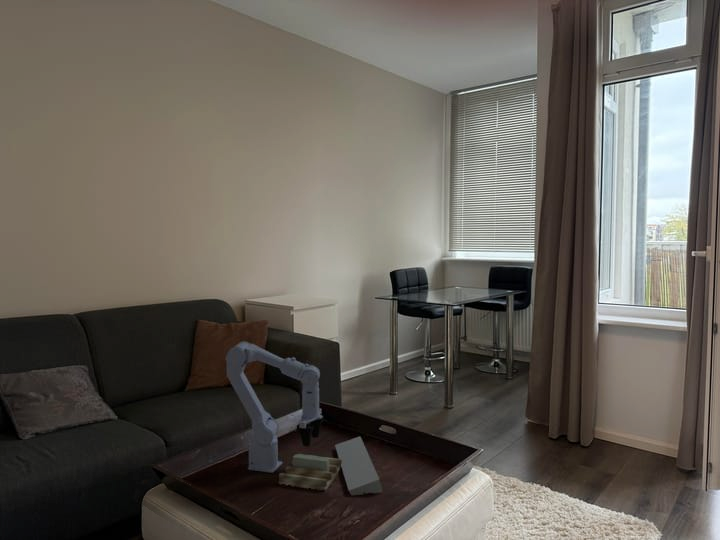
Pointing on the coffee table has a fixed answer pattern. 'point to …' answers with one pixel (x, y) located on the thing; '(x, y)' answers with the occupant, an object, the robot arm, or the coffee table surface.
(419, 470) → the coffee table surface
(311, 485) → the ribbed tan slab
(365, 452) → the grey rectangular block
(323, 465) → the clay strip
